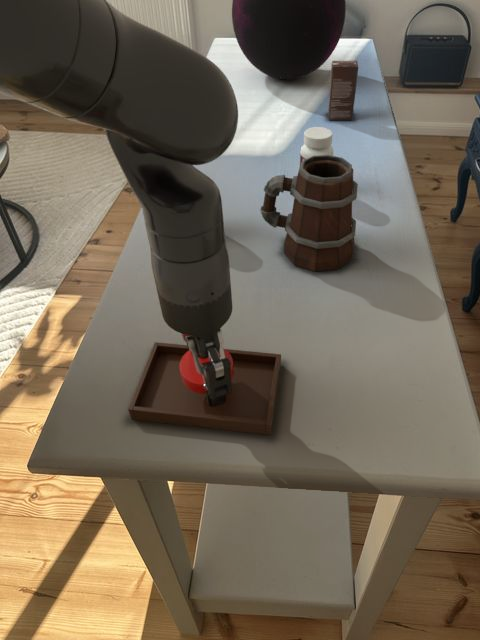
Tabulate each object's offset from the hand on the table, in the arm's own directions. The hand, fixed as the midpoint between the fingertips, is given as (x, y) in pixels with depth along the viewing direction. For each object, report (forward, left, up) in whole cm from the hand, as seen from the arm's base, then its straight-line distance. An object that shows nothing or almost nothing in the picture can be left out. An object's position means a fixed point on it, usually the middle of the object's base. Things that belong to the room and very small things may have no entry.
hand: (208, 381), depth 61 cm
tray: (0, 0, -2) cm, 2 cm away
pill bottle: (+10, +52, -2) cm, 53 cm away
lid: (0, 0, +3) cm, 3 cm away
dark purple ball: (-2, +115, -2) cm, 115 cm away
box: (+14, +88, -2) cm, 89 cm away
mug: (+10, +32, -2) cm, 34 cm away
